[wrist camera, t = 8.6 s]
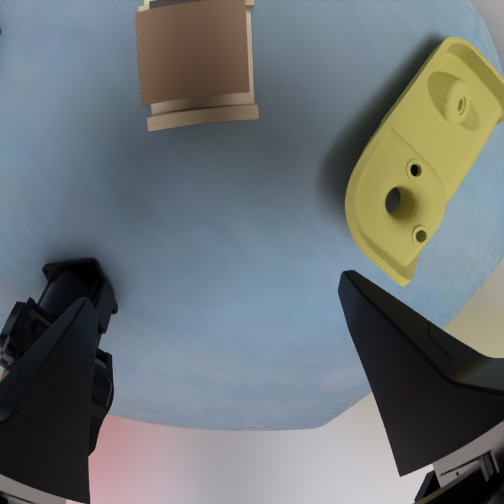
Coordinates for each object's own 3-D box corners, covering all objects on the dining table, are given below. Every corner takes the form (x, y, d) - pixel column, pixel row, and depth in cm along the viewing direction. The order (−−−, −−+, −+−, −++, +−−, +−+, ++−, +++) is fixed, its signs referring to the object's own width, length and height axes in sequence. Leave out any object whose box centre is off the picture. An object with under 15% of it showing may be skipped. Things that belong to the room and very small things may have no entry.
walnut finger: (167, 97, 13) (142, 105, 9) (162, 26, 11) (135, 0, 6) (236, 88, 14) (249, 92, 9) (232, 18, 11) (244, -14, 6)
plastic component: (453, 26, 11) (531, 118, 11) (423, 55, 18) (490, 124, 18) (314, 212, 17) (414, 300, 18) (312, 200, 24) (389, 267, 24)
